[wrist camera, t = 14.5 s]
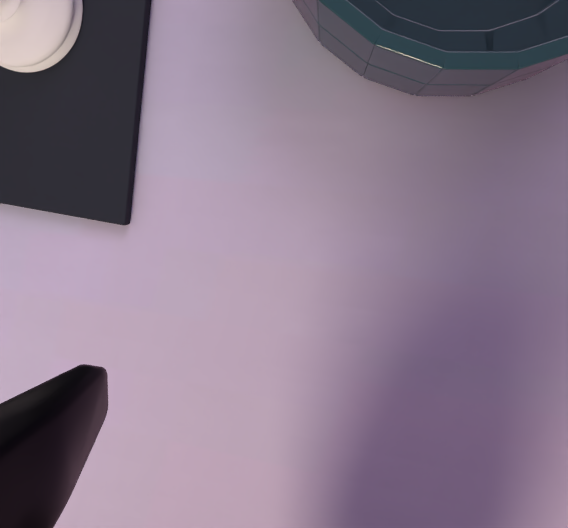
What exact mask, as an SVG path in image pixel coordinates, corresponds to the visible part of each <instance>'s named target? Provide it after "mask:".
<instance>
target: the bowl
mask: <svg viewBox="0 0 568 528" xmlns="http://www.w3.org/2000/svg"><path fill="white" fill-rule="evenodd" d="M292 1H293V2H294V4H295V5H296V7H297V9H298V10H299V12H300V13H301V15H302V16H303V18H304V20H305V21H306V23H307V24H308V26H309V27H310V29H311V31H312V32H313V34H314V35H315V37H316V38H317V40H318V41H319V42H320V43H321V44H322V45H323V46H324V47H325V48H327V49H328V50H329V51H330V52H332V53H333V54H334V55H335V56H337V57H338V58H339V59H340V60H342V61H343V62H344V63H345V64H347V65H348V66H349V67H350V68H352V69H353V70H354V71H355V72H357V73H358V74H359V75H360V76H363V77H364V78H366V79H368V80H371V81H374V82H377V83H380V84H383V85H385V86H388V87H391V88H394V89H397V90H400V91H402V92H405V93H408V94H411V95H416V96H471V95H473V96H474V95H478V94H481V93H484V92H487V91H490V90H494V89H497V88H500V87H503V86H506V85H510V84H513V83H516V82H519V81H522V80H526V79H528V78H530V77H532V76H534V75H536V74H538V73H540V72H542V71H544V70H546V69H548V68H550V67H552V66H554V65H556V64H558V63H561V62H563V61H565V60H567V59H568V0H292Z"/></svg>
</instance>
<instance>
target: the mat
mask: <svg viewBox="0 0 568 528" xmlns="http://www.w3.org/2000/svg"><path fill="white" fill-rule="evenodd" d="M82 2H83V15H82V22H81V27H80V31H79V34H78V36H77V39H76V41H75V43H74V45H73V46H72V48H71V49H70V51H69V52H68V53H67V54H66V55H65V56H64V57H63V58H62V59H61V60H60V61H59V62H58V63H56V64H55V65H53V66H51V67H49V68H47V69H44V70H41V71H37V72H17V71H13V70H9V69H7V68H4V67H2V66H0V203H3V204H9V205H15V206H20V207H26V208H31V209H37V210H42V211H48V212H53V213H59V214H64V215H70V216H75V217H81V218H87V219H92V220H98V221H103V222H109V223H114V224H120V225H127V224H129V223H130V213H131V203H132V192H133V182H134V171H135V161H136V150H137V140H138V130H139V119H140V109H141V98H142V88H143V77H144V67H145V56H146V46H147V35H148V25H149V15H150V4H151V0H82Z"/></svg>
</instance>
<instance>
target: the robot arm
mask: <svg viewBox="0 0 568 528" xmlns="http://www.w3.org/2000/svg"><path fill="white" fill-rule="evenodd" d="M107 410H108V381H107V372H106V370H105V369H104V368H103V367H99V366H92V365H85V364H83V365H79V366H77V367H75V368H73V369H71V370H69V371H67V372H65V373H63V374H60V375H58V376H56V377H54V378H52V379H50V380H48V381H46V382H44V383H42V384H40V385H38V386H36V387H34V388H32V389H30V390H28V391H26V392H24V393H21V394H19V395H17V396H15V397H13V398H11V399H9V400H7V401H5V402H3V403H1V404H0V528H53V527H54V525H55V524H56V522H57V520H58V518H59V517H60V515H61V513H62V511H63V509H64V507H65V506H66V504H67V502H68V500H69V498H70V496H71V494H72V491H73V489H74V487H75V485H76V483H77V480H78V478H79V476H80V474H81V471H82V469H83V467H84V465H85V462H86V460H87V458H88V456H89V454H90V451H91V449H92V447H93V445H94V442H95V440H96V438H97V436H98V433H99V431H100V429H101V427H102V424H103V422H104V420H105V417H106V414H107Z"/></svg>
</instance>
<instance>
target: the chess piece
mask: <svg viewBox="0 0 568 528" xmlns="http://www.w3.org/2000/svg"><path fill="white" fill-rule="evenodd" d="M82 15H83V2H82V0H0V66H2V67H4V68H7V69H9V70H13V71H17V72H37V71H41V70H44V69H47V68H49V67H51V66H53V65H55V64H56V63H58V62H59V61H60V60H61V59H62V58H63V57H64V56H65V55H66V54H67V53H68V52H69V51H70V49H71V48H72V46H73V45H74V43H75V41H76V39H77V36H78V34H79V31H80V27H81V22H82Z"/></svg>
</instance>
